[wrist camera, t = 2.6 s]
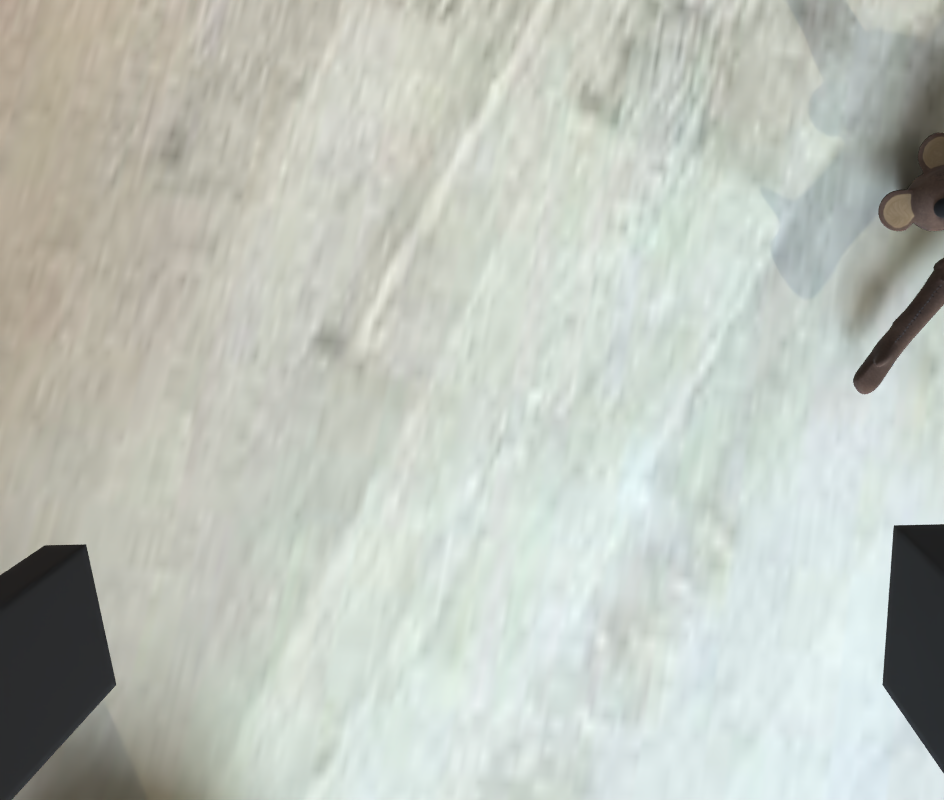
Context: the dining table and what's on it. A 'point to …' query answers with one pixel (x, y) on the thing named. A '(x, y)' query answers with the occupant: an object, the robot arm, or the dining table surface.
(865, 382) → the bear figurine
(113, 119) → the dining table surface
